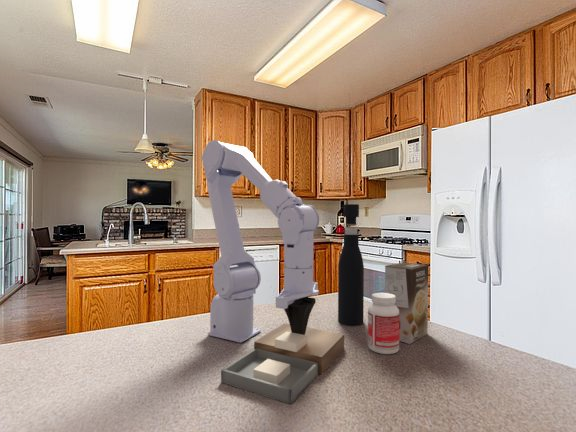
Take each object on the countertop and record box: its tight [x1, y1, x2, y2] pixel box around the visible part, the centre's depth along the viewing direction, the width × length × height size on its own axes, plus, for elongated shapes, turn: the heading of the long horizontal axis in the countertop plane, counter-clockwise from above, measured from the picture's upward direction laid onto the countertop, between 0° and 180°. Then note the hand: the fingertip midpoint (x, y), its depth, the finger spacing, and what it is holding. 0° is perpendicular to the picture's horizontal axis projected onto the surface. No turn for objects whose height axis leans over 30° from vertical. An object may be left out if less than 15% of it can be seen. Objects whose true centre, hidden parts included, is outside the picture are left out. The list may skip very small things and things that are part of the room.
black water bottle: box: [337, 203, 365, 327], centre depth 84 cm, size 6×6×30 cm
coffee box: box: [384, 262, 429, 345], centre depth 75 cm, size 9×6×16 cm
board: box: [253, 322, 345, 375], centre depth 65 cm, size 14×12×3 cm
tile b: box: [253, 359, 290, 385], centre depth 55 cm, size 4×4×2 cm
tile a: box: [275, 331, 307, 352], centre depth 61 cm, size 4×4×2 cm
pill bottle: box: [367, 292, 400, 355], centre depth 67 cm, size 6×6×11 cm
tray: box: [220, 348, 319, 405], centre depth 55 cm, size 13×10×2 cm
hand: (298, 335), depth 64 cm, fingers closed
